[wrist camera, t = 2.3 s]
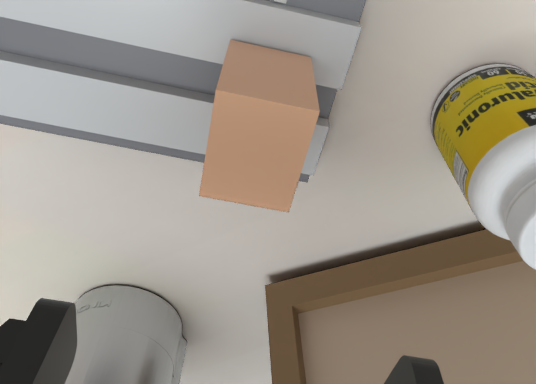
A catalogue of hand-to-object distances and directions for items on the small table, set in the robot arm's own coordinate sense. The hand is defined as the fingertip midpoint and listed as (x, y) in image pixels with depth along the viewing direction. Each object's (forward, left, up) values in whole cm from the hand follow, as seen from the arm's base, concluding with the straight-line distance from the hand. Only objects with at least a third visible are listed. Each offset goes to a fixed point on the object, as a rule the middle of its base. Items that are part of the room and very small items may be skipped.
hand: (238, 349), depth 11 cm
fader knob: (0, 0, -16) cm, 16 cm away
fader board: (+4, +5, -18) cm, 19 cm away
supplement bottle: (-8, -10, -19) cm, 23 cm away
